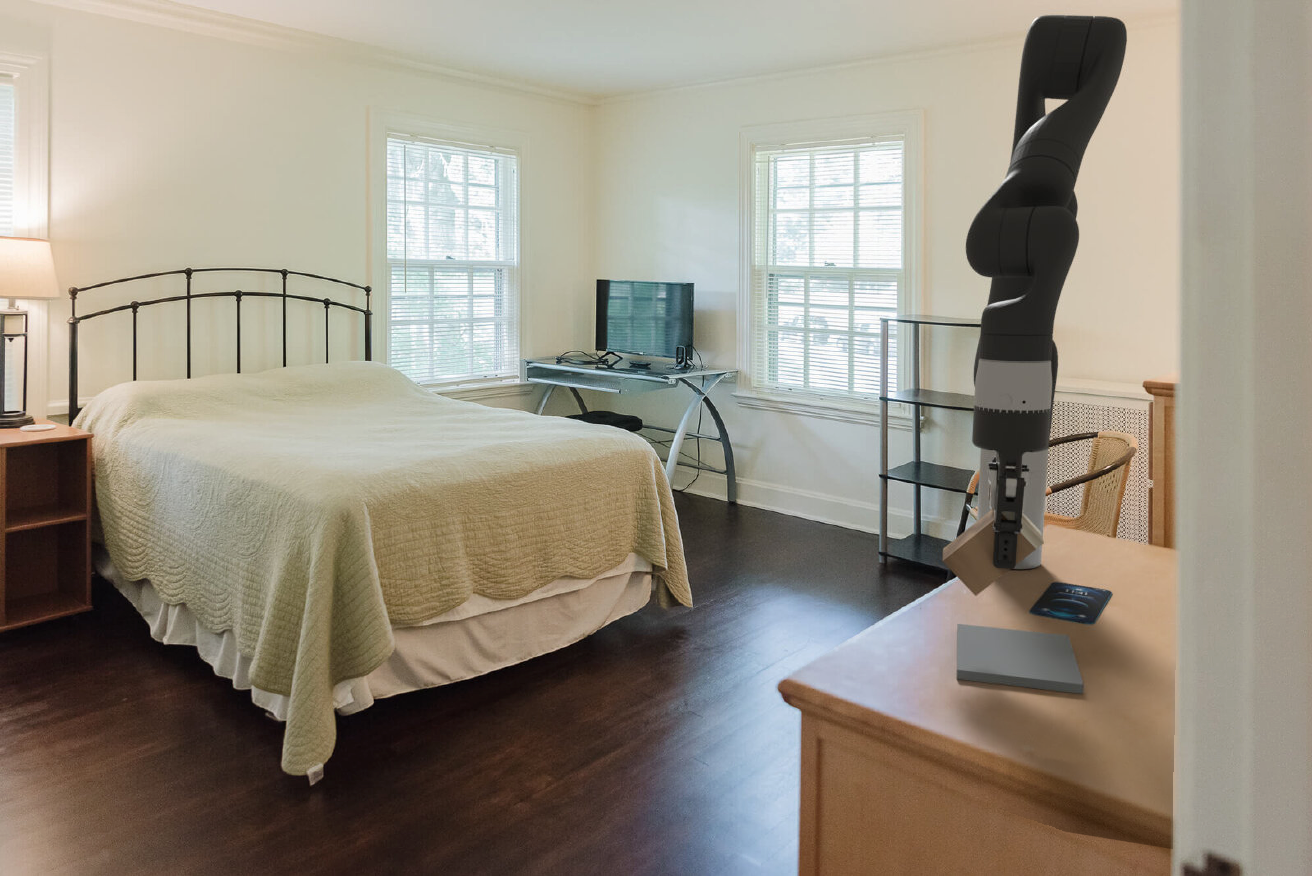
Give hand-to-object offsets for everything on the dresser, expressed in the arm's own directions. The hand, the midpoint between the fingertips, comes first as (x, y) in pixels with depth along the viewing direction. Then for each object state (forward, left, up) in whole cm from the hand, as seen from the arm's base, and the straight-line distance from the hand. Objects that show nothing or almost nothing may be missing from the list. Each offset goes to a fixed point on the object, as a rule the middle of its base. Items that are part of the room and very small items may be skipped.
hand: (1002, 559), depth 100 cm
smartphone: (-23, +10, -12) cm, 27 cm away
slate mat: (0, +2, -11) cm, 11 cm away
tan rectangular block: (0, -4, -2) cm, 5 cm away
